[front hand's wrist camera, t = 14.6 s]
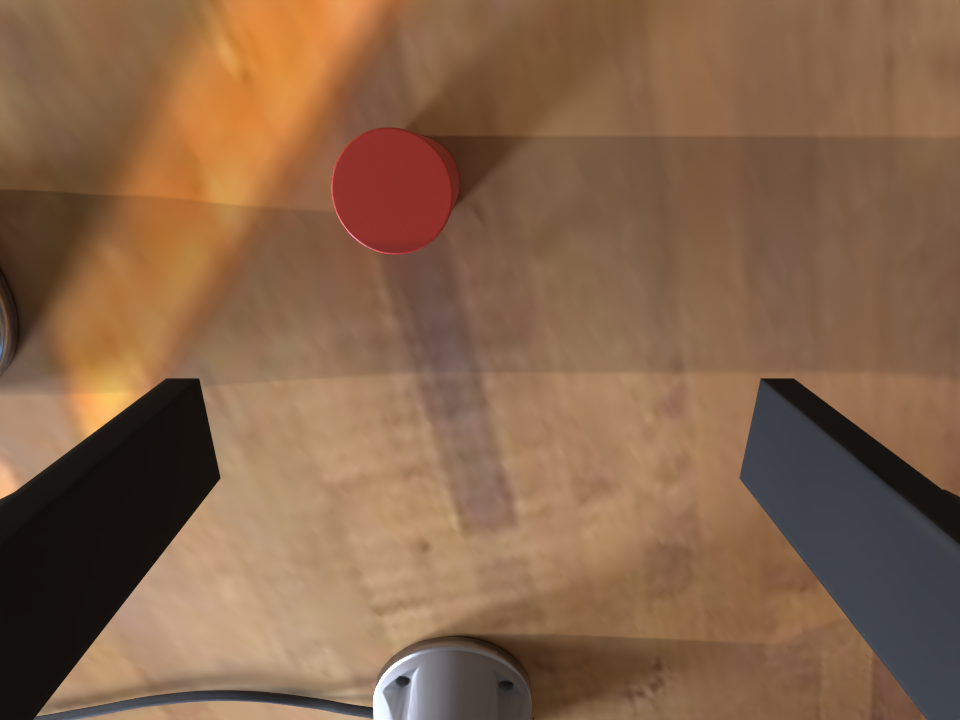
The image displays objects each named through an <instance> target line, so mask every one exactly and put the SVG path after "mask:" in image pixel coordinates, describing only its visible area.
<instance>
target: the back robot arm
mask: <svg viewBox="0 0 960 720" xmlns="http://www.w3.org/2000/svg"><path fill="white" fill-rule="evenodd" d="M17 339H18V319H17V313H16V308H15V304H14V301H13V298H12V295H11V292H10V290H9V287H8V285H7V283H6V281H5V279H4V277H3V275H2V274H1V272H0V376H1V375H2V373H3V372H4V371H5V370H6V368H7V367H8V365H9V364H10V362H11V360H12V357H13V355H14V352H15V349H16V345H17Z"/></svg>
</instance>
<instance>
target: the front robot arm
mask: <svg viewBox="0 0 960 720" xmlns="http://www.w3.org/2000/svg"><path fill="white" fill-rule="evenodd" d="M219 479H220V474H219V469H218V464H217V460H216V455H215V450H214V446H213V441H212V436H211V432H210V427H209V422H208V418H207V413H206V408H205V404H204V399H203V394H202V390H201V385H200V380H199V379H165V380H164V381H162V382H161V383H160V384H158V385H157V386H156V387H154V388H153V389H152V390H150V391H149V392H148V393H146V394H145V395H144V396H142V397H141V398H140V399H138V400H137V401H136V402H134V403H133V404H132V405H130V406H129V407H128V408H126V409H125V410H124V411H122V412H121V413H120V414H118V415H117V416H116V417H114V418H113V419H112V420H110V421H109V422H108V423H106V424H105V425H104V426H102V427H101V428H100V429H98V430H97V431H96V432H94V433H93V434H92V435H90V436H89V437H88V438H86V439H85V440H84V441H82V442H81V443H79V444H78V445H77V446H75V447H74V448H73V449H71V450H70V451H69V452H67V453H66V454H65V455H63V456H62V457H61V458H59V459H58V460H57V461H55V462H54V463H53V464H51V465H50V466H49V467H47V468H46V469H45V470H43V471H42V472H41V473H39V474H38V475H37V476H35V477H34V478H33V479H31V480H30V481H29V482H27V483H26V484H25V485H23V486H22V487H21V488H19V489H18V490H17V491H15V492H14V493H12V494H10V495H8V496H6V497H4V498H2V499H0V720H76V719H81V718H87V717H93V716H98V715H103V714H109V713H114V712H119V711H124V710H129V709H135V708H141V707H149V706H157V705H165V704H175V703H185V702H199V701H248V702H263V703H274V704H282V705H290V706H298V707H305V708H312V709H319V710H325V711H330V712H335V713H340V714H346V715H352V716H359V717H366V718H372V719H374V720H531V712H532V700H531V691H530V684H529V680H528V677H527V675H526V673H525V671H524V669H523V668H522V666H521V665H520V664H519V663H518V662H517V661H516V660H515V659H514V658H513V657H512V656H511V655H510V654H508V653H507V652H505V651H504V650H502V649H500V648H498V647H497V646H495V645H492V644H490V643H487V642H484V641H481V640H477V639H472V638H466V637H439V638H433V639H428V640H424V641H421V642H418V643H415V644H413V645H411V646H409V647H407V648H405V649H403V650H401V651H400V652H398V653H397V654H396V655H394V656H393V657H392V658H391V659H390V660H389V661H388V662H387V663H386V665H385V666H384V667H383V669H382V670H381V672H380V674H379V677H378V680H377V684H376V689H375V694H374V700H373V708H372V707H365V706H358V705H352V704H346V703H340V702H335V701H330V700H324V699H318V698H310V697H303V696H296V695H288V694H280V693H270V692H258V691H234V690H215V691H194V692H183V693H173V694H164V695H155V696H148V697H141V698H135V699H129V700H124V701H119V702H114V703H109V704H104V705H99V706H93V707H87V708H82V709H76V710H71V711H65V712H60V713H55V714H49V715H43V716H37V717H36V715H37V714H38V713H39V711H40V710H41V709H42V708H43V706H44V705H45V704H46V702H47V701H48V700H49V699H50V697H51V696H52V695H53V693H54V692H55V691H56V690H57V688H58V687H59V686H60V684H61V683H62V682H63V680H64V679H65V678H66V677H67V675H68V674H69V673H70V671H71V670H72V669H73V668H74V666H75V665H76V664H77V662H78V661H79V660H80V659H81V657H82V656H83V655H84V653H85V652H86V651H87V650H88V648H89V647H90V646H91V644H92V643H93V642H94V641H95V639H96V638H97V637H98V635H99V634H100V633H101V632H102V630H103V629H104V628H105V626H106V625H107V624H108V623H109V621H110V620H111V619H112V617H113V616H114V615H115V613H116V612H117V611H118V610H119V608H120V607H121V606H122V604H123V603H124V602H125V601H126V599H127V598H128V597H129V595H130V594H131V593H132V592H133V590H134V589H135V588H136V586H137V585H138V584H139V583H140V581H141V580H142V579H143V577H144V576H145V575H146V574H147V572H148V571H149V570H150V568H151V567H152V566H153V565H154V563H155V562H156V561H157V559H158V558H159V557H160V556H161V554H162V553H163V552H164V550H165V549H166V548H167V546H168V545H169V544H170V543H171V541H172V540H173V539H174V537H175V536H176V535H177V534H178V532H179V531H180V530H181V528H182V527H183V526H184V525H185V523H186V522H187V521H188V519H189V518H190V517H191V516H192V514H193V513H194V512H195V510H196V509H197V508H198V507H199V505H200V504H201V503H202V501H203V500H204V499H205V498H206V496H207V495H208V494H209V492H210V491H211V490H212V489H213V487H214V486H215V485H216V483H217V482H218V481H219ZM740 479H741V481H742V482H743V483H744V485H745V486H746V487H747V489H748V490H749V491H750V492H751V494H752V495H753V496H754V498H755V499H756V500H757V501H758V503H759V504H760V505H761V507H762V508H763V509H764V510H765V512H766V513H767V514H768V516H769V517H770V518H771V519H772V521H773V522H774V523H775V525H776V526H777V527H778V528H779V530H780V531H781V532H782V534H783V535H784V536H785V537H786V539H787V540H788V541H789V543H790V544H791V545H792V546H793V548H794V549H795V550H796V552H797V553H798V554H799V556H800V557H801V558H802V559H803V561H804V562H805V563H806V565H807V566H808V567H809V568H810V570H811V571H812V572H813V574H814V575H815V576H816V577H817V579H818V580H819V581H820V583H821V584H822V585H823V586H824V588H825V589H826V590H827V592H828V593H829V594H830V595H831V597H832V598H833V599H834V601H835V602H836V603H837V604H838V606H839V607H840V608H841V610H842V611H843V612H844V613H845V615H846V616H847V617H848V619H849V620H850V621H851V623H852V624H853V625H854V626H855V628H856V629H857V630H858V632H859V633H860V634H861V635H862V637H863V638H864V639H865V641H866V642H867V643H868V644H869V646H870V647H871V648H872V650H873V651H874V652H875V653H876V655H877V656H878V657H879V659H880V660H881V661H882V662H883V664H884V665H885V666H886V668H887V669H888V670H889V671H890V673H891V674H892V675H893V677H894V678H895V679H896V680H897V682H898V683H899V684H900V686H901V687H902V688H903V690H904V691H905V692H906V693H907V695H908V696H909V697H910V699H911V700H912V701H913V702H914V704H915V705H916V706H917V708H918V709H919V710H920V711H921V713H922V714H923V715H924V717H925V718H926V719H927V720H960V497H959V496H957V495H955V494H953V493H951V492H949V491H947V490H942V489H941V488H939V487H938V486H937V485H935V484H934V483H933V482H931V481H930V480H929V479H927V478H926V477H925V476H923V475H922V474H921V473H919V472H918V471H917V470H915V469H914V468H913V467H911V466H910V465H909V464H907V463H906V462H905V461H903V460H902V459H901V458H899V457H898V456H897V455H895V454H894V453H893V452H891V451H890V450H889V449H887V448H886V447H885V446H883V445H882V444H880V443H879V442H878V441H876V440H875V439H874V438H872V437H871V436H870V435H868V434H867V433H866V432H864V431H863V430H862V429H860V428H859V427H858V426H856V425H855V424H854V423H852V422H851V421H850V420H848V419H847V418H846V417H844V416H843V415H842V414H840V413H839V412H838V411H836V410H835V409H834V408H832V407H831V406H830V405H828V404H827V403H826V402H824V401H823V400H822V399H820V398H819V397H818V396H816V395H815V394H814V393H812V392H811V391H810V390H808V389H807V388H806V387H804V386H803V385H802V384H800V383H799V382H798V381H796V380H795V379H761V380H760V385H759V389H758V394H757V399H756V404H755V408H754V413H753V418H752V422H751V427H750V432H749V436H748V441H747V446H746V450H745V455H744V460H743V464H742V469H741V474H740ZM532 720H534V717H533V719H532Z"/></svg>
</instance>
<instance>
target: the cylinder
mask: <svg viewBox="0 0 960 720" xmlns="http://www.w3.org/2000/svg"><path fill="white" fill-rule="evenodd" d="M459 188H460V178H459V172H458V168H457V165H456V163H455V161H454V159H453V157H452V156H451V154H450V153H449V152H448V151H447V150H446V148H444V147H443V146H442V145H441V144H439V143H438V142H436V141H434V140H432V139H430V138H427V137H424V136H422V135H419V134H416V133H413V132H410V131H407V130H404V129H399V128H378V129H374V130H370V131H368V132H366V133H363V134H361V135H360V136H358V137H356V138H355V139H354V140H353V141H352V142H350V143H349V144H348V145H347V147H346V148H345V149H344V150H343V152H342V153H341V155H340V156H339V158H338V160H337V162H336V165H335V168H334V171H333V176H332V185H331V190H332V199H333V204H334V207H335V210H336V213H337V215H338V217H339V219H340V221H341V223H342V224H343V226H344V227H345V229H346V230H347V231H348V232H349V233H350V234H351V235H352V236H353V237H354V238H355V239H356V240H357V241H358V242H360V243H361V244H363V245H364V246H366V247H368V248H370V249H372V250H375V251H378V252H381V253H386V254H406V253H410V252H414V251H416V250H419V249H421V248H423V247H425V246H426V245H428V244H429V243H430V242H432V241H433V240H434V239H435V238H436V237H437V236H438V235H439V234H440V232H441V231H442V230H443V228H444V226H445V225H446V223H447V221H448V218H449V216H450V214H451V211H452V209H453V207H454V205H455V202H456V200H457V197H458V194H459Z"/></svg>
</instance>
